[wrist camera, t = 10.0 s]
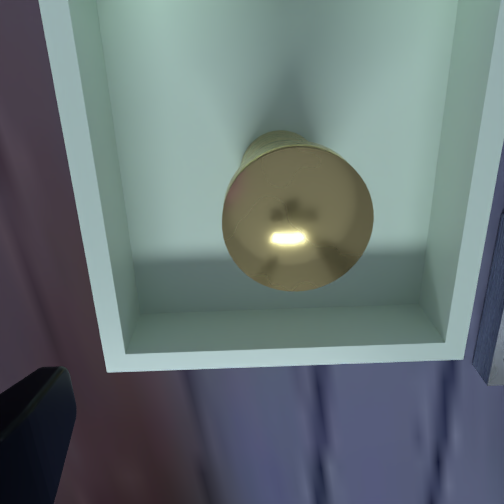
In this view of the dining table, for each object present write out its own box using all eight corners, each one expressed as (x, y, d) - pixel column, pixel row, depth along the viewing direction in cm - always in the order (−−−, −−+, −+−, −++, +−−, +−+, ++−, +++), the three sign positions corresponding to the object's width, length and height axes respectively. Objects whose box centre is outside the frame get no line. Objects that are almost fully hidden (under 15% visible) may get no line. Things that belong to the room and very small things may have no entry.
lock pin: (330, 218, 19) (368, 288, 13) (229, 222, 19) (225, 294, 13) (334, 114, 17) (379, 144, 12) (224, 118, 17) (217, 150, 12)
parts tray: (430, 312, 21) (463, 359, 18) (127, 322, 21) (107, 372, 18) (479, -39, 16) (540, -60, 13) (73, -27, 16) (30, -45, 13)
